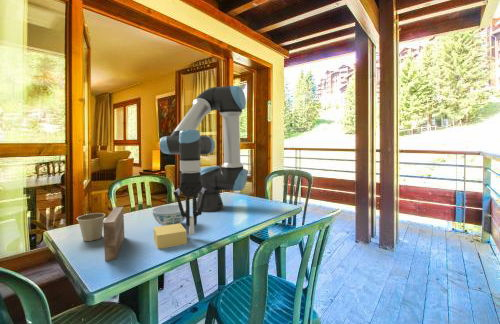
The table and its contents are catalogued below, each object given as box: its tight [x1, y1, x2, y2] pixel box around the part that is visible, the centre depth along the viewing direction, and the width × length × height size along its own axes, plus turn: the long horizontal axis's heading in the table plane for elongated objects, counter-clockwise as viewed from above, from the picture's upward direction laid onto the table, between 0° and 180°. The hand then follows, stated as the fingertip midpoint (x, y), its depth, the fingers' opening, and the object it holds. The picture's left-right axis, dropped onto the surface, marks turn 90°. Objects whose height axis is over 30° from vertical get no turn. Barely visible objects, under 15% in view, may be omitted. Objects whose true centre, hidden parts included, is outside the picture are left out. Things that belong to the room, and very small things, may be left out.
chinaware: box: [151, 204, 186, 226], centre depth 113 cm, size 15×15×8 cm
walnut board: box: [102, 206, 125, 262], centre depth 90 cm, size 3×20×12 cm, turn 18°
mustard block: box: [153, 223, 188, 250], centre depth 96 cm, size 10×10×5 cm
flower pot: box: [76, 212, 106, 242], centre depth 99 cm, size 9×9×9 cm
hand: (191, 233), depth 99 cm, fingers closed
